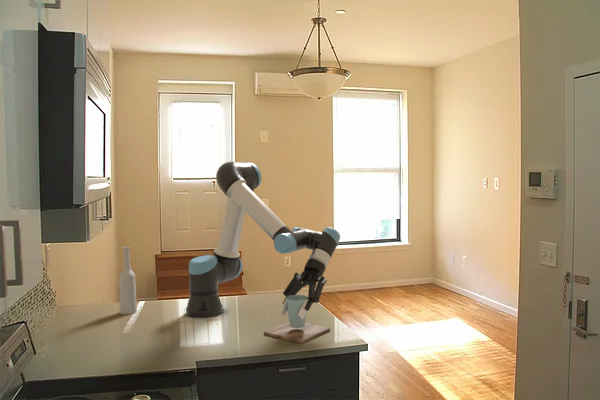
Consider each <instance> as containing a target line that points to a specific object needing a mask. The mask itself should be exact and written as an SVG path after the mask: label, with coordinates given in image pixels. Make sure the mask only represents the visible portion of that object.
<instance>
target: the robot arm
mask: <svg viewBox="0 0 600 400" xmlns="http://www.w3.org/2000/svg"><path fill="white" fill-rule="evenodd" d="M215 179H216V183H217V186H218V187H219V189H220V190H221V192H222V193H223V194H224V195H225V196H226V197H227V198H228V199H227V202H226V208H225V213H224V217H223V223H222V226H221V228H222V229H221V232H220V237H219V241H218V246H217V247H216V248H214V250H213V253H212V254H211V255H210V254H209V255H208V254H207V255H206V254H205V255H202V256H201V255H200V256H196V257H193V258H192V259H190V261H189V262H188V279H189V280H188V281H189V283H188V284H189V286H188V287H189V297H188V301H187V305H186V308H185V315H186V316H188V317H190V318H201V319H202V318H211V317H216V316H219V315H221V314H222V313H223V308H224V307H223V304H222V302H221V298H220V296H219V284H223V283H225V282H226V283H227V282H230V281H232V280H234V279H237V278H238V277H239V275H241V273H242V271H243V262H242V259H241V253H240V252H239V244H240V240H241V236H242V231H243V226H244V222H245V219H246V218H245V216H246V214H247V215H248V216H249V217H250V218H251V219H252V220H253V221H254V222H255V223H256V224H257V225H258V227H260V228H261V230H263V231H264V232H265V233H266V234H267V236H269V238H271V240H273V247H274V249H275V251H276V252H278V254H282V255H284V254H285V255H286V254H292V253H293V252H295V251H299V250H303V249H307V250H312V251H311V253H310V255H309V257H308V259H307V262H306V263H305V265H304V267H303V268H304V270H303V271H302V272H301V273H298V272H295V273H294V275H293V277H292V279H291V280H290V282H289V284H287V286H286V287H285V289H284V290H283V292H282V294H283V295H284V297H285V298H284V300H283V302H282V306H281V307H280V310H279V313H280V314H281V315H282V316H286V314H288V308H287V301H286V297H288V296H291V295H298V293H299V292H300V291H301V290H302V288H305V287H306V286H308V295H307V300H305V301H304V304H303V306H302V308H301V310H300V312H299V314H298V316H299V317H300V319H302V320H303V318H304V316H305V314H306V315H307V312H309V311H310V309H311V308H312V305H313V304H314V303H315V304H318V303H319V301H320V298H321V295H322V292H323V289H324V286H325V284H326V283H327V279H326V278H325V277H324V276H323V275H324V273H325V272H326V269H327V267H328V265H329V263H330V260H331V259H332V256H333V254H334V253H335V251H336V248H337V247H338V245H339V242H340V239H341V235H340V232H339V231H338V230H336V229H334V228H333V227H325V228H323V230H322V232H321V231H316V230H312V229H307V228H304V227H298V226H297V227H296V226H295V227H293V228H292V229H290V227H288V225H286V224H285V223H284V222H283V221H282V219H281V218H279V216H278V215H276V213H274V212H273V210H272V209H271V208H270V207H268V205H266V203H264V201H263V200H261V198H259V196H257V194H256V193H255V190H256V189H257V188H258V187H259V186H260V185H261V183H262V173H261V171H260V169H259V167H258V166H257V165H256V164H255V163H253V162H248V161H228V162H224V163H222V164H221V165H220V166H219V167H218V169H217V171H216V175H215Z"/></svg>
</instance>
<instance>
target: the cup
mask: <svg viewBox="0 0 600 400" xmlns="http://www.w3.org/2000/svg"><path fill="white" fill-rule="evenodd" d="M285 298H286V301H287V308H288V311H287V314H288V322H289V323H290V327H292V328H302V327H304V326H305V323H306V317H307V313H306V314H305V316H304V318H303V320H302V319H300V317H299V316H298V314H299V312H300V310H301V308H302V306H303V304H304V301H305V300H308V299H307V298H308V295H304V294H296V295H291V296H288V297H286V296H285Z"/></svg>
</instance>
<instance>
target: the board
mask: <svg viewBox="0 0 600 400" xmlns="http://www.w3.org/2000/svg"><path fill="white" fill-rule="evenodd" d="M330 331H331V327H328V326H327V327H326V326H322V325H319V324H318V325H316V324H312V323H309V322H308V323H307V322H305V326H304V327H302V328H292V327H290V323H289V321H288V322H287V323H283V324H281V325H279V326H278V325H277V326H275V327H273V328H270V329H268V330H265V331H263V335H264V336H269V337H272V338H276V339H281V340H284V341H289V342H293V343H298V344H301V345H302V344H304V343H306V342H308V341H311V340H312V339H315V338H317V337H319V336H322V335H324V334H327V333H329V332H330Z"/></svg>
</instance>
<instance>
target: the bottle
mask: <svg viewBox="0 0 600 400" xmlns="http://www.w3.org/2000/svg"><path fill="white" fill-rule="evenodd" d="M122 250H123V252H122V253H123V255H122V256H123V258H122V259H123V263H122V265H123V268H122V269H123V270H122V271H121V273H120V274H119V276H118V278H119V279H118V280H119V285H118V286H119V311H120V312H119V313H120V314H121V315H132V314H133V315H134V314H136V313H137V309H138V308H137V289H136V288H137V287H136V285H137V284H136V274H135V272H134V271H133V270H132V268H131V259H130V257H131V256H130V246H122Z"/></svg>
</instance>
